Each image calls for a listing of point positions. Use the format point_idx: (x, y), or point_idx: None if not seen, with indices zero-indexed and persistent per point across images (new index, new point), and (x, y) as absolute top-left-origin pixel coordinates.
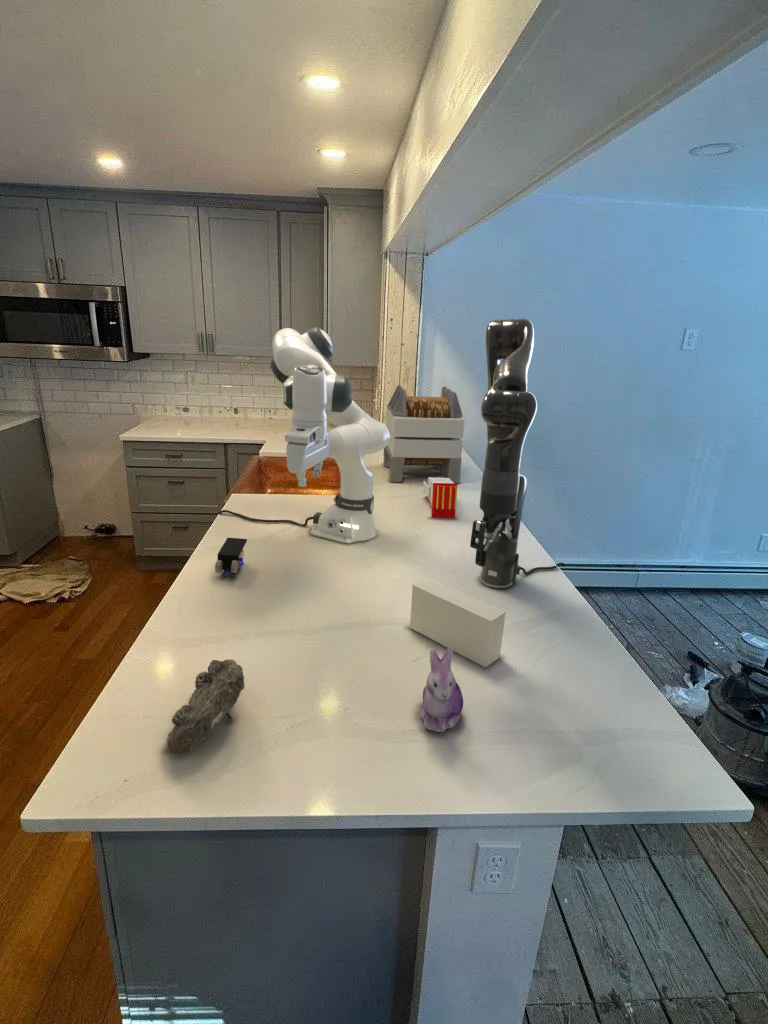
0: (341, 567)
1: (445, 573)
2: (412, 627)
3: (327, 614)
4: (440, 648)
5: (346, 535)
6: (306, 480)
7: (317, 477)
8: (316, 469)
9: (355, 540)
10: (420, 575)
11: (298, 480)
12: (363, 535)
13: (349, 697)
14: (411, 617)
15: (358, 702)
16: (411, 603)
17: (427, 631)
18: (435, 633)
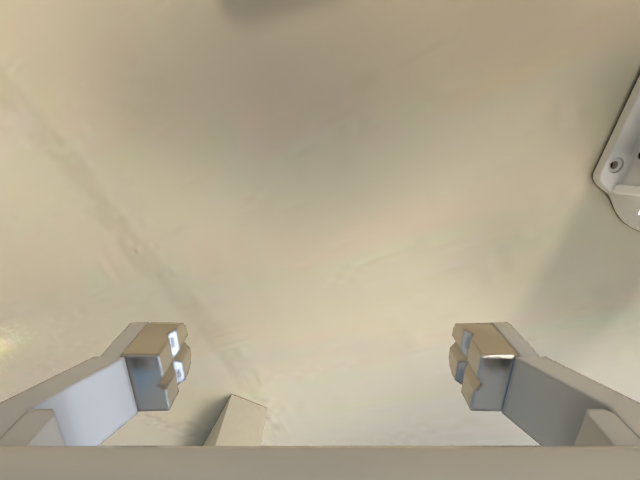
0: (433, 212)
1: (458, 408)
2: (228, 400)
3: (209, 260)
4: (196, 438)
5: (632, 167)
6: (163, 402)
7: (450, 356)
8: (517, 387)
9: (611, 195)
10: (437, 372)
11: (103, 353)
12: (633, 215)
13: (17, 364)
14: (225, 412)
15: (16, 376)
16: (218, 435)
17: (214, 428)
18: (207, 441)
